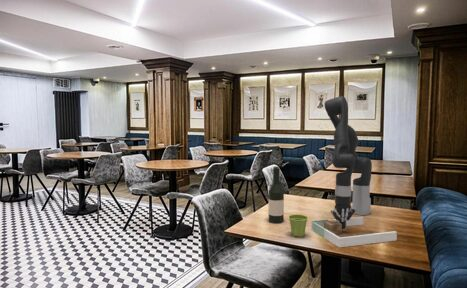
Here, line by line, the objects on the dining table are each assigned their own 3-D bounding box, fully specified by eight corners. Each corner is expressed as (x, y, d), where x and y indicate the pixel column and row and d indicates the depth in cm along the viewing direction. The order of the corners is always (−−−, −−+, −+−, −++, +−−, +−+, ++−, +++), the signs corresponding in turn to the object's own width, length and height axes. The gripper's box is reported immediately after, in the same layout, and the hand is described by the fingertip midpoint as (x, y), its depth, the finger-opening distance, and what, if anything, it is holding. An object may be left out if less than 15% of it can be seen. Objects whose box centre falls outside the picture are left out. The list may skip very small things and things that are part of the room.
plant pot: (296, 239, 146) (296, 221, 146) (284, 233, 155) (284, 215, 154) (312, 236, 151) (312, 218, 150) (299, 230, 159) (299, 213, 158)
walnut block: (334, 230, 159) (334, 220, 159) (341, 234, 153) (341, 224, 153) (323, 231, 157) (324, 221, 157) (330, 235, 152) (330, 225, 151)
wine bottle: (284, 219, 176) (285, 166, 174) (282, 224, 168) (282, 168, 166) (270, 218, 178) (270, 165, 176) (266, 222, 171) (267, 167, 168)
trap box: (361, 224, 168) (362, 215, 168) (396, 240, 145) (396, 230, 145) (311, 229, 160) (311, 220, 160) (339, 247, 137) (339, 237, 137)
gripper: (350, 191, 161) (349, 224, 162) (327, 193, 157) (326, 227, 158) (359, 194, 153) (358, 229, 155) (335, 196, 150) (335, 232, 151)
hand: (342, 228), depth 157 cm, fingers closed
